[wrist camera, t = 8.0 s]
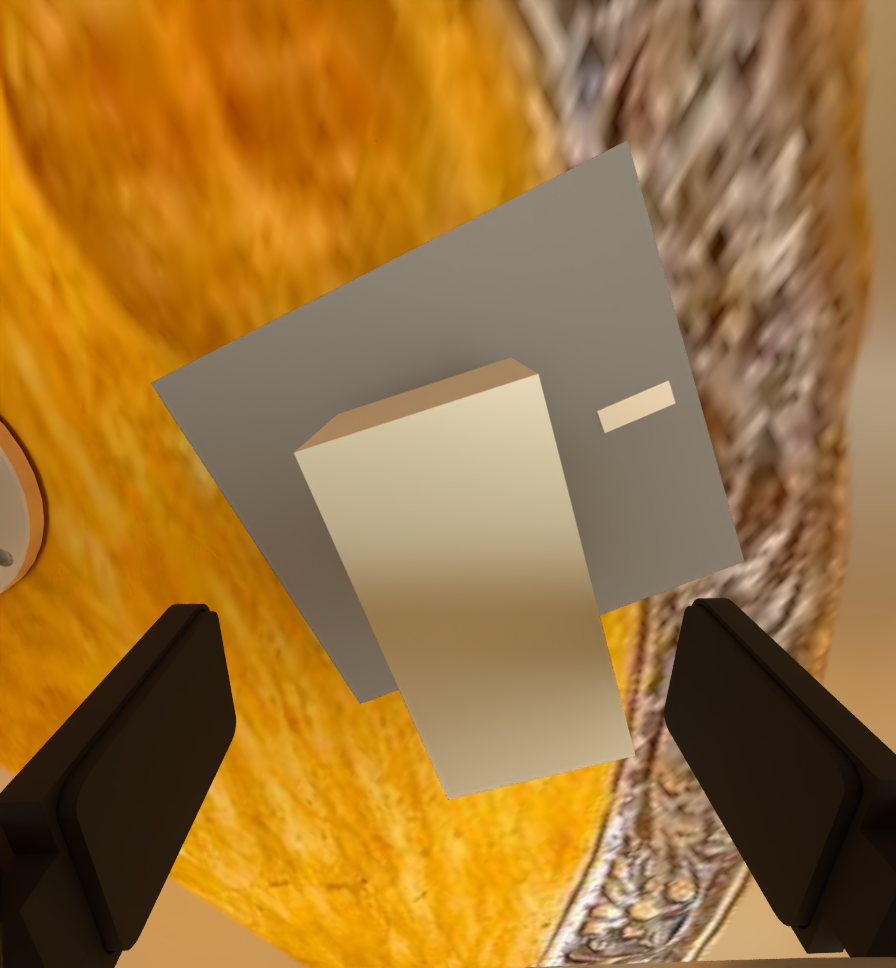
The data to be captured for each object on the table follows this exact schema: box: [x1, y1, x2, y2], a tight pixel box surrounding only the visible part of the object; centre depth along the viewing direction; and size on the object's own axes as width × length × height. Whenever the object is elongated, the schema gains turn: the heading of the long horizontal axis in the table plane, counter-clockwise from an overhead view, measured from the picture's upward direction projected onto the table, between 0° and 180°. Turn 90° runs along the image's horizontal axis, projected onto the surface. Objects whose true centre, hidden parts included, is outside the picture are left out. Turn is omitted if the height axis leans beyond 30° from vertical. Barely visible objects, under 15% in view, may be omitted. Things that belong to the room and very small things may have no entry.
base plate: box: [151, 141, 744, 704], centre depth 20 cm, size 20×18×4 cm
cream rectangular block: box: [294, 358, 635, 800], centre depth 14 cm, size 10×6×7 cm, turn 18°
